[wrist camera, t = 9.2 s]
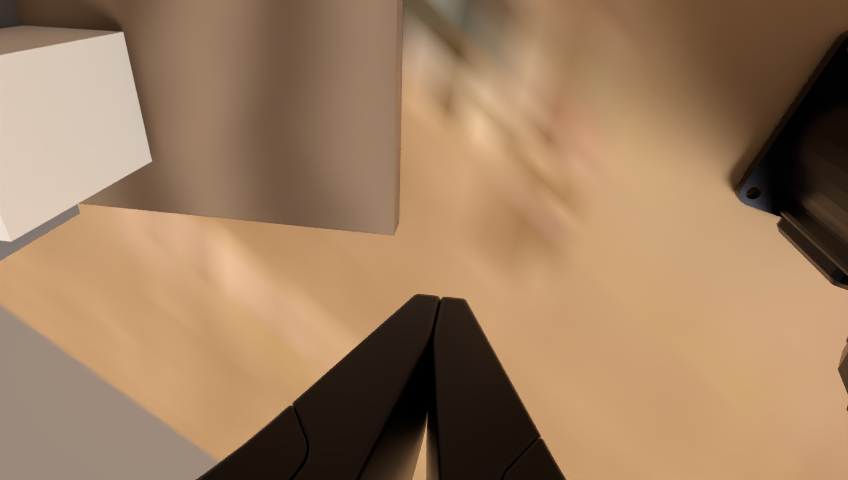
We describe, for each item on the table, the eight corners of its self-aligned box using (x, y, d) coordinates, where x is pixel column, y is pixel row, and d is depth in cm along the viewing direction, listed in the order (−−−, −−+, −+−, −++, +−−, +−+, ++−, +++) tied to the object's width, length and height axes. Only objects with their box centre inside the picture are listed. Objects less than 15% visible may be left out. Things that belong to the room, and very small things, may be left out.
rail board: (403, -33, 18) (397, -32, 17) (399, 223, 23) (393, 235, 22) (-117, -59, 20) (-151, -59, 19) (-21, 181, 25) (-44, 191, 24)
